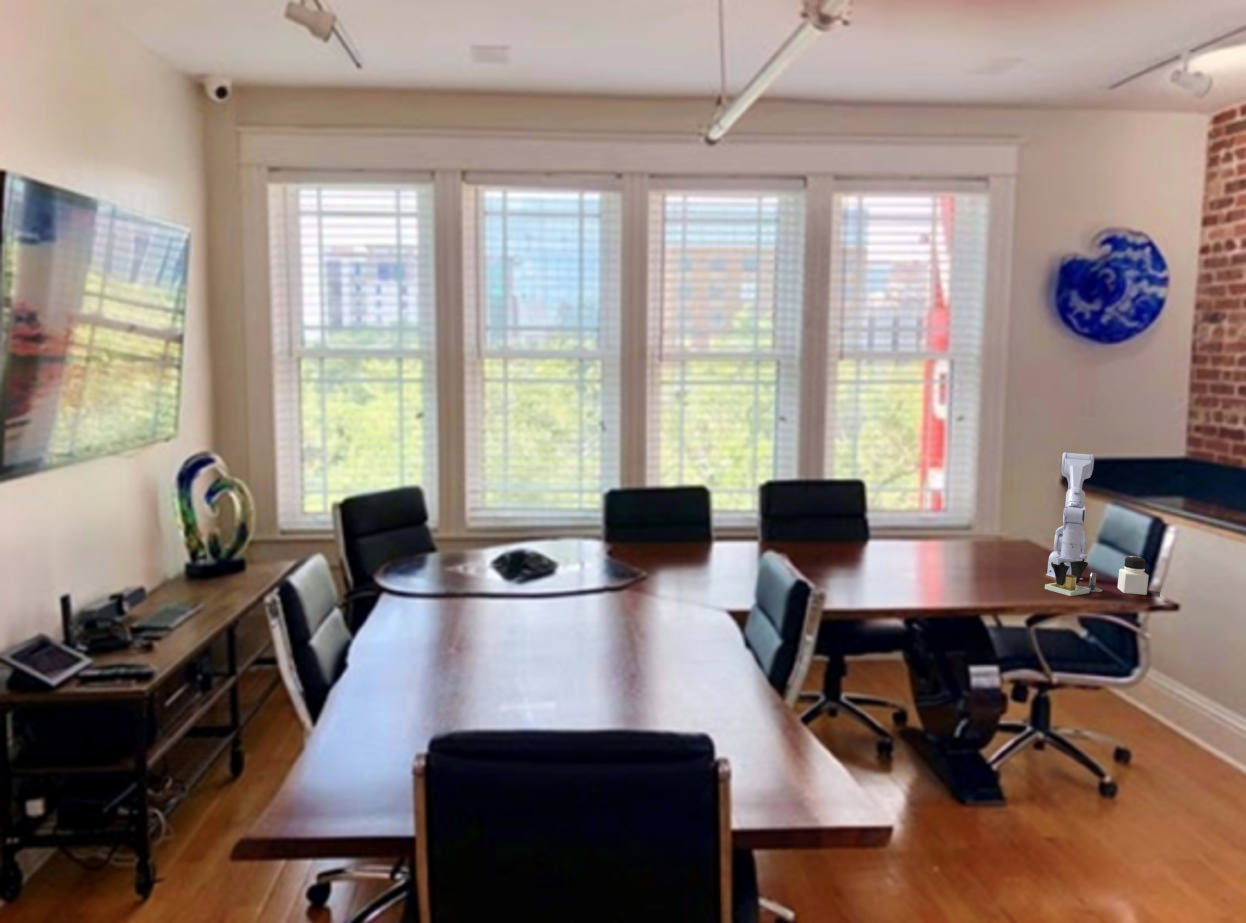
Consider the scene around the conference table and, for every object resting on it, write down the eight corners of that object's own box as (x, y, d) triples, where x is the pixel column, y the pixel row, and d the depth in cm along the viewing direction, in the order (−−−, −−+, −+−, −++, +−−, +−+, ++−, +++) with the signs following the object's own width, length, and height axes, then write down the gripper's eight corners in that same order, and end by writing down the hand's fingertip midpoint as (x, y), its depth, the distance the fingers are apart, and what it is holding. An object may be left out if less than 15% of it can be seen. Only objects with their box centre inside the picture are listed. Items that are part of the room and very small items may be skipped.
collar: (1068, 593, 315) (1069, 578, 314) (1051, 588, 320) (1053, 573, 319) (1078, 591, 317) (1079, 576, 316) (1061, 587, 322) (1063, 572, 322)
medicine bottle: (1146, 596, 316) (1150, 560, 314) (1123, 594, 318) (1127, 559, 316) (1139, 590, 323) (1143, 555, 321) (1116, 589, 324) (1120, 554, 323)
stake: (1076, 589, 322) (1078, 571, 321) (1089, 587, 325) (1090, 570, 324) (1094, 594, 317) (1096, 576, 316) (1106, 592, 320) (1108, 574, 319)
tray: (1044, 590, 320) (1045, 584, 319) (1063, 587, 324) (1063, 581, 324) (1070, 597, 311) (1070, 591, 311) (1089, 594, 316) (1089, 588, 316)
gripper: (1067, 547, 309) (1063, 588, 310) (1096, 543, 316) (1092, 584, 318) (1048, 542, 315) (1045, 583, 317) (1077, 539, 322) (1073, 579, 324)
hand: (1067, 583), depth 317 cm, fingers open, 7 cm apart
